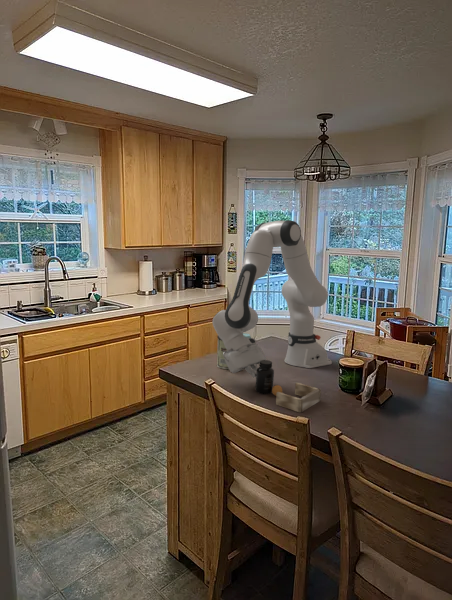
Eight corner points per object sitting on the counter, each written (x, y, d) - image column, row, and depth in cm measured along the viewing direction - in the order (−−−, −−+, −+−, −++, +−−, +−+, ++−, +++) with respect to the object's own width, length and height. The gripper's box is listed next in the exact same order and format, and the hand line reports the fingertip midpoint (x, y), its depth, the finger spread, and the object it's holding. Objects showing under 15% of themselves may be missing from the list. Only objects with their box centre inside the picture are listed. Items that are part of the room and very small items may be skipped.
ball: (276, 390, 167) (282, 384, 165) (280, 398, 164) (285, 392, 162) (268, 388, 165) (274, 382, 163) (271, 397, 162) (277, 390, 160)
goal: (275, 404, 155) (276, 392, 155) (296, 393, 166) (297, 382, 166) (300, 412, 149) (301, 400, 148) (320, 400, 160) (321, 389, 159)
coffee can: (239, 362, 202) (240, 333, 199) (239, 369, 191) (240, 339, 189) (217, 361, 202) (217, 332, 199) (216, 369, 192) (217, 338, 189)
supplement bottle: (273, 388, 170) (276, 360, 167) (271, 395, 163) (274, 366, 161) (256, 386, 171) (258, 357, 169) (253, 393, 165) (255, 363, 162)
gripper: (225, 347, 164) (245, 378, 159) (257, 338, 179) (275, 366, 175) (216, 356, 167) (235, 386, 163) (248, 346, 183) (266, 373, 178)
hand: (256, 375), depth 169 cm, fingers closed
